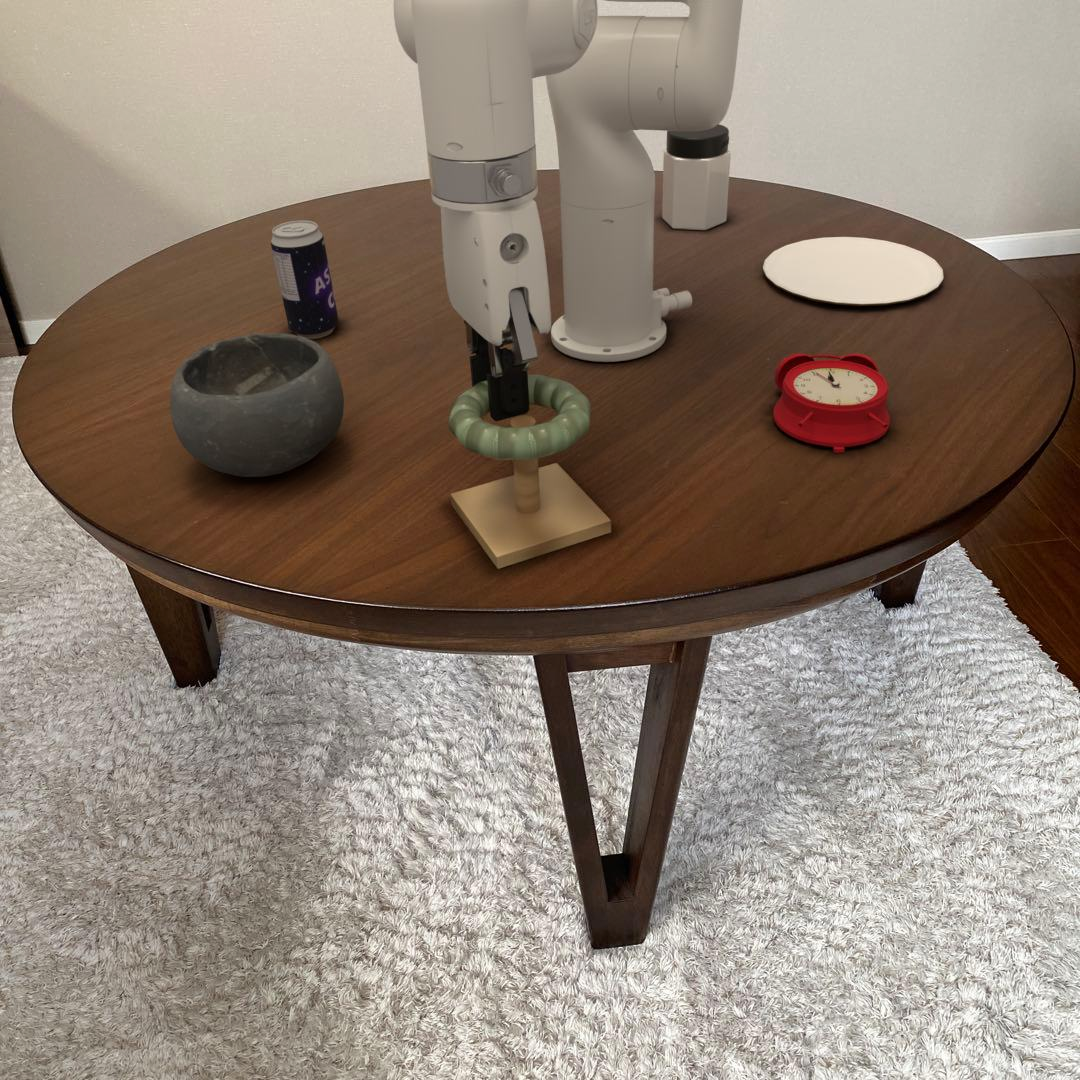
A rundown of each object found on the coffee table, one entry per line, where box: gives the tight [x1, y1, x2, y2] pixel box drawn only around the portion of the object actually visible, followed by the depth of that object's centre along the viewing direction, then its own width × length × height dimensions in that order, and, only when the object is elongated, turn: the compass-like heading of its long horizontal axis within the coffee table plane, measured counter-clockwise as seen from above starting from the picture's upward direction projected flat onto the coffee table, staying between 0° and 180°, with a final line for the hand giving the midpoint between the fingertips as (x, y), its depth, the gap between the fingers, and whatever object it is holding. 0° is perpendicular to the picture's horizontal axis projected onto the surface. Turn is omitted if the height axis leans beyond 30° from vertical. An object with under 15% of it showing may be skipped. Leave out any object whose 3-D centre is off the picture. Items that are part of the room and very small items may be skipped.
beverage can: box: [270, 219, 340, 340], centre depth 111 cm, size 6×6×12 cm
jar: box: [661, 123, 732, 231], centre depth 135 cm, size 9×8×12 cm
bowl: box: [169, 332, 345, 478], centre depth 89 cm, size 15×15×10 cm
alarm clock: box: [772, 352, 891, 454], centre depth 93 cm, size 10×6×15 cm
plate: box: [762, 236, 944, 307], centre depth 120 cm, size 21×21×1 cm
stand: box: [449, 415, 612, 570], centre depth 80 cm, size 10×10×9 cm
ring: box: [448, 374, 592, 461], centre depth 77 cm, size 11×11×2 cm
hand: (501, 404), depth 81 cm, fingers closed on ring, 2 cm apart
